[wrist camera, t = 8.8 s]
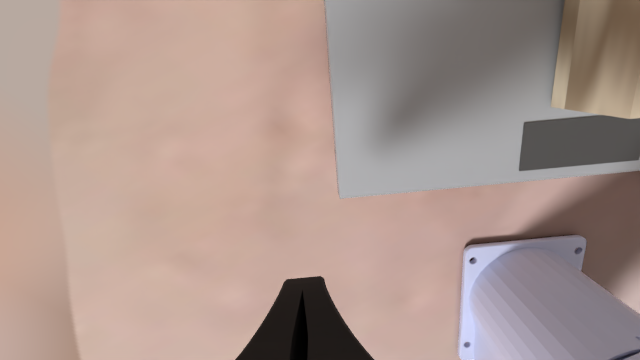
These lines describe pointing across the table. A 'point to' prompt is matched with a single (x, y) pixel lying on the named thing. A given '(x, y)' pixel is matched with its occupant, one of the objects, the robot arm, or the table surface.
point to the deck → (458, 98)
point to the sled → (599, 58)
